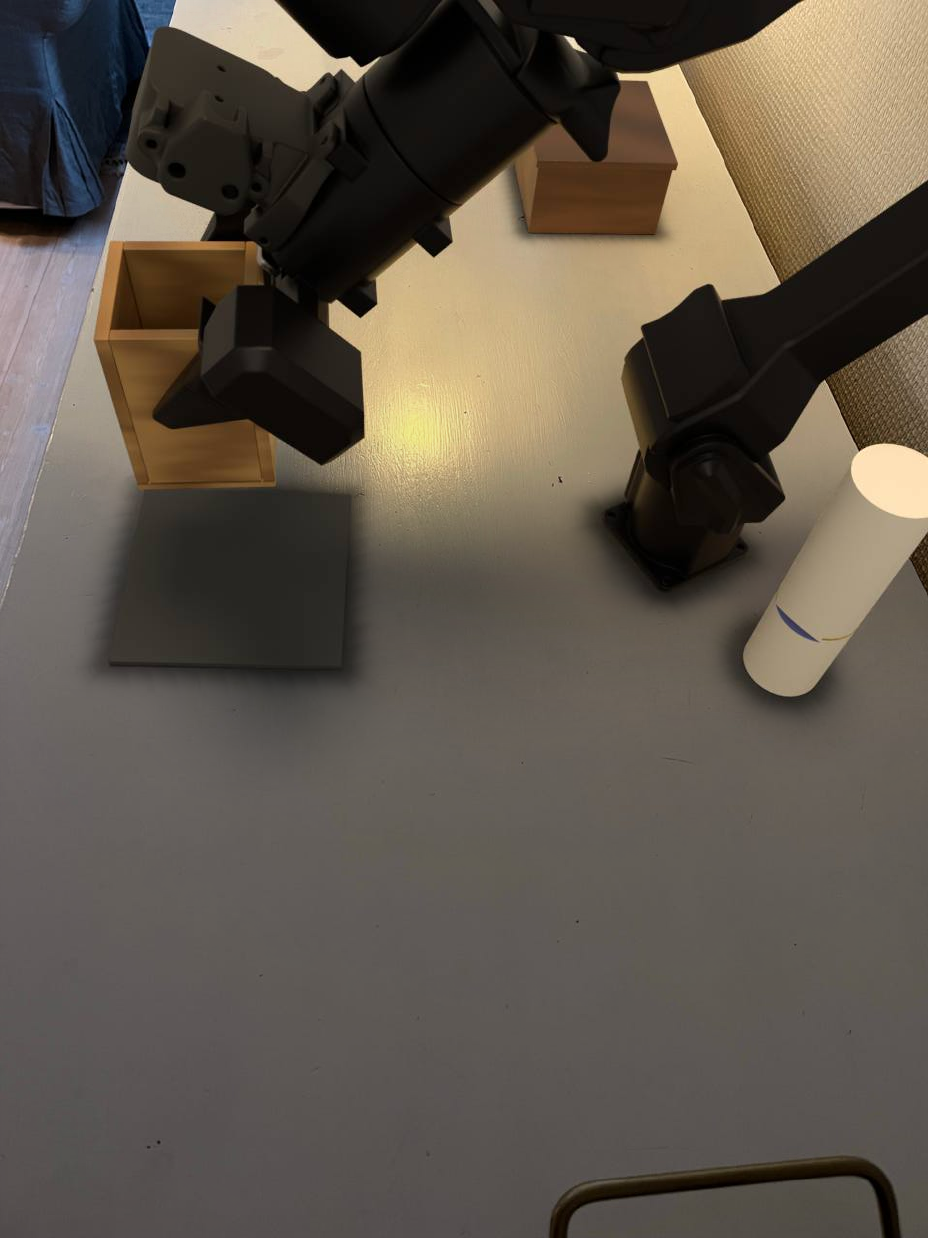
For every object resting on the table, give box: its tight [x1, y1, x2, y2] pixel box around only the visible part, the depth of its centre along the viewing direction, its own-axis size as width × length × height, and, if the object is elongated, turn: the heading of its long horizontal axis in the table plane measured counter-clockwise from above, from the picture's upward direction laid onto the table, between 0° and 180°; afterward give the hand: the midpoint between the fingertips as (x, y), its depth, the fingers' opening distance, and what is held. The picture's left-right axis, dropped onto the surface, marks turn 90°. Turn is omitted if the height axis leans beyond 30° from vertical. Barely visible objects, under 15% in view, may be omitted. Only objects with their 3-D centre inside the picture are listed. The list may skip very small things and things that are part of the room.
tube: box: [742, 443, 928, 698], centre depth 49 cm, size 4×4×15 cm
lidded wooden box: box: [513, 79, 679, 235], centre depth 76 cm, size 11×10×6 cm
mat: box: [108, 488, 352, 670], centre depth 55 cm, size 12×12×1 cm
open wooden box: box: [93, 240, 277, 491], centre depth 45 cm, size 6×6×9 cm
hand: (166, 368), depth 45 cm, fingers closed on open wooden box, 6 cm apart
